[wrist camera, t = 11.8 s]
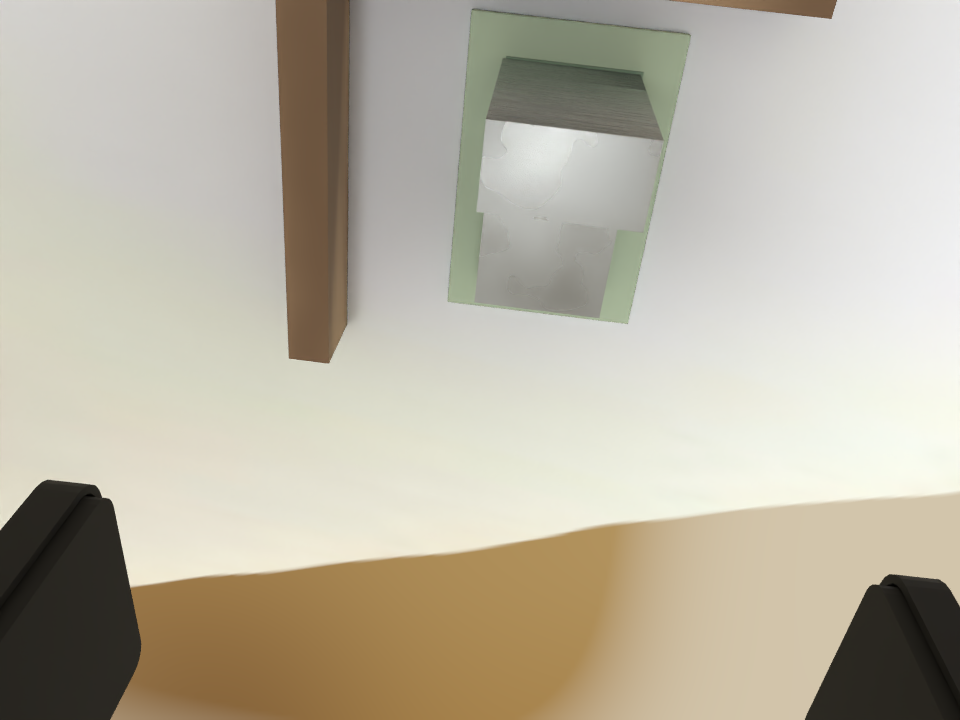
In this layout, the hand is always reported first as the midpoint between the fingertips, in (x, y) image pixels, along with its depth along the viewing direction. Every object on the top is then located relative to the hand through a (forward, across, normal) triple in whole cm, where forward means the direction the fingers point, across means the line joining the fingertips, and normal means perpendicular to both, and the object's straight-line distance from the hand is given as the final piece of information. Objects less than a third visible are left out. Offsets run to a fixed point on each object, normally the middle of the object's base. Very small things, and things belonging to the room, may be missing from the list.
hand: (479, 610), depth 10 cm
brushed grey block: (+20, -1, +1) cm, 20 cm away
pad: (+21, -1, +1) cm, 21 cm away
